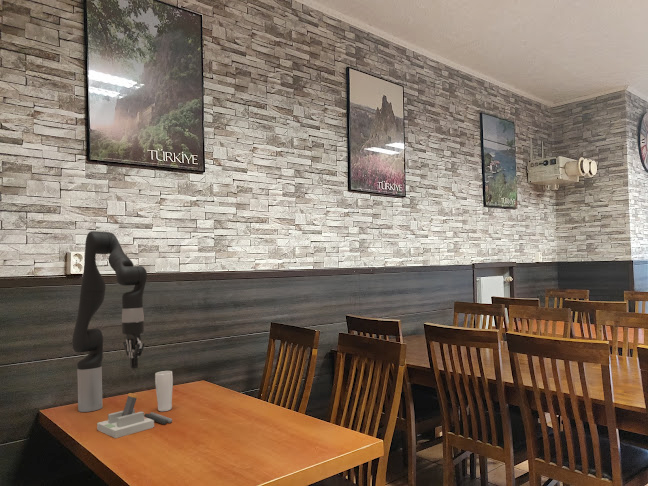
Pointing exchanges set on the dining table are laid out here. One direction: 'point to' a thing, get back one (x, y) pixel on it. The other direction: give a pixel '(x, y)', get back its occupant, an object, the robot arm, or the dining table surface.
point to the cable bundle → (158, 418)
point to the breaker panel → (125, 429)
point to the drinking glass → (164, 390)
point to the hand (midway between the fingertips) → (134, 368)
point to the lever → (129, 404)
